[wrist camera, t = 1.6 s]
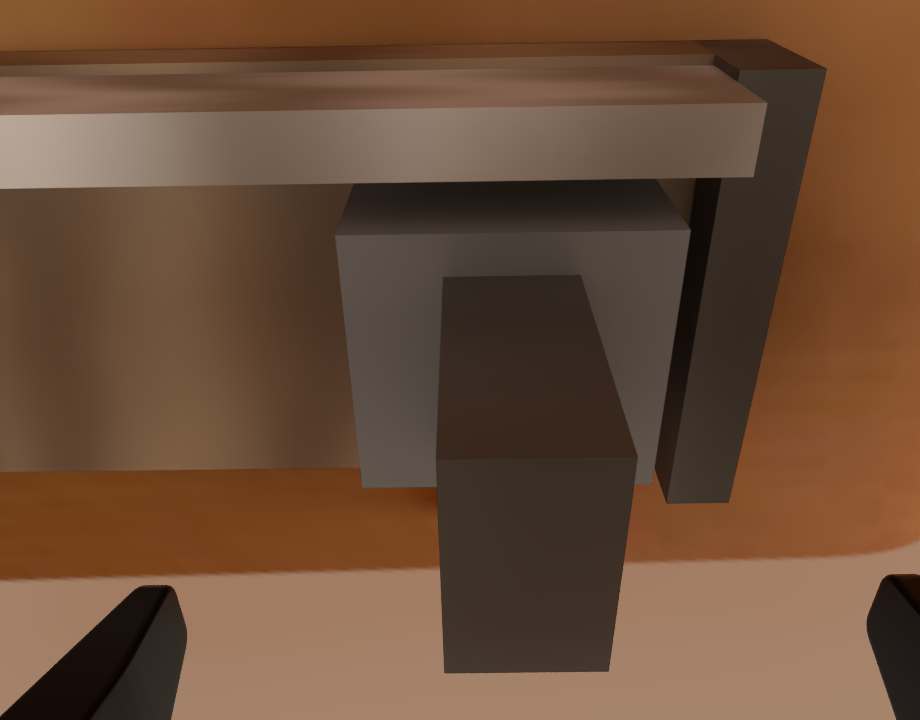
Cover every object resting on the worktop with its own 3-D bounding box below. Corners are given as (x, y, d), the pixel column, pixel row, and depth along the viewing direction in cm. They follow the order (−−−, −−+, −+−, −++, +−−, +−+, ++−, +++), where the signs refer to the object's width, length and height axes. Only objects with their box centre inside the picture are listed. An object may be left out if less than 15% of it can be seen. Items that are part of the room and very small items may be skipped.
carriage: (375, 404, 18) (327, 707, 12) (355, 177, 15) (274, 406, 9) (625, 401, 18) (722, 703, 12) (652, 173, 15) (805, 399, 9)
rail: (-261, 441, 21) (-419, 562, 17) (-506, 60, 16) (-811, 115, 12) (695, 427, 21) (748, 548, 17) (767, 39, 16) (866, 88, 12)
